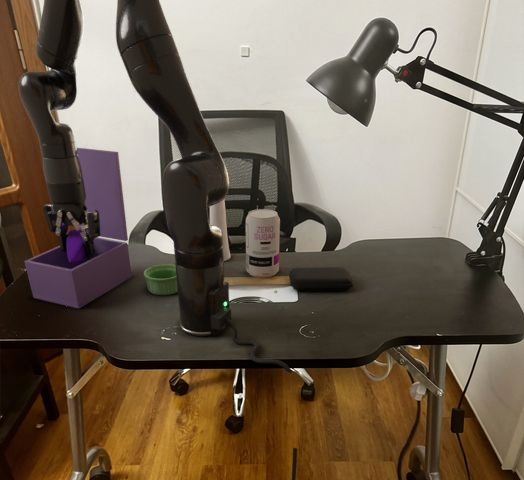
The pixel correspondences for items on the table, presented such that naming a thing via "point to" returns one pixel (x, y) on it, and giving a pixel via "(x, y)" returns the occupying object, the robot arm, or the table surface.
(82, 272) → the file box
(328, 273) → the carrying case
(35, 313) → the table surface
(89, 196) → the lid
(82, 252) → the purple teardrop shape
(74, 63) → the robot arm
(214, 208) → the cosmetic bottle
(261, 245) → the supplement can
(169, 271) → the ramekin
